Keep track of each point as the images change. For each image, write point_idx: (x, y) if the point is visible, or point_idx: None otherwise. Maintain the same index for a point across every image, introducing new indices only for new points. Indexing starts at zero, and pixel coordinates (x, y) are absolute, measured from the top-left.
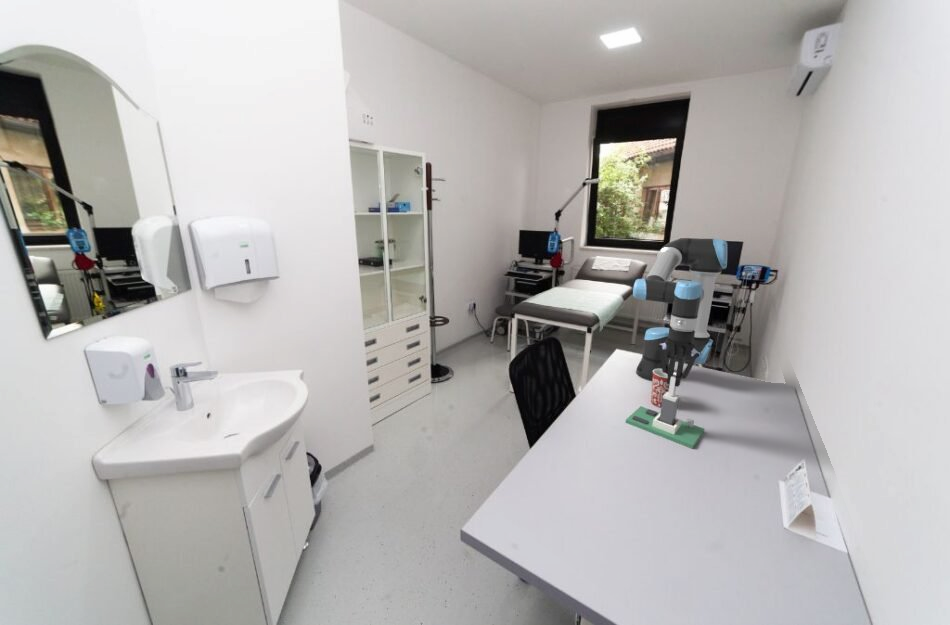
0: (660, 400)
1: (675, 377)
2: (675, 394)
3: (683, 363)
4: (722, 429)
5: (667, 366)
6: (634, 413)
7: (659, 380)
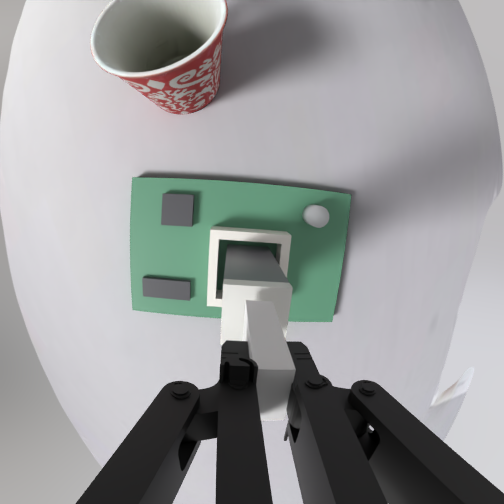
0: (183, 107)
1: (285, 436)
2: (271, 288)
3: (369, 490)
4: (385, 143)
5: (185, 429)
6: (134, 250)
7: (142, 83)
